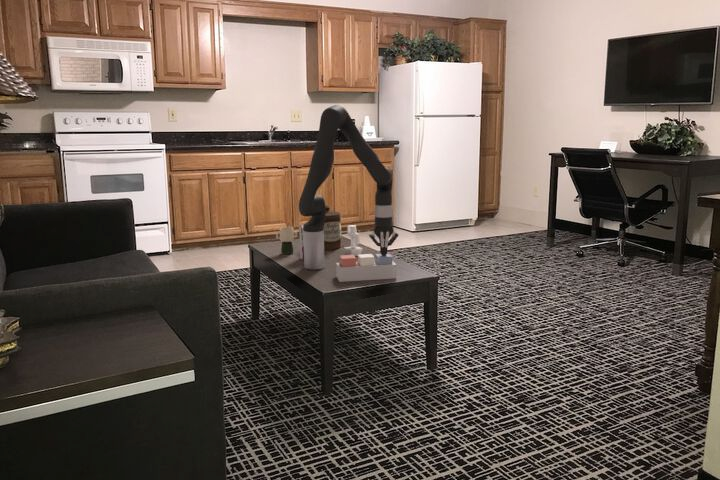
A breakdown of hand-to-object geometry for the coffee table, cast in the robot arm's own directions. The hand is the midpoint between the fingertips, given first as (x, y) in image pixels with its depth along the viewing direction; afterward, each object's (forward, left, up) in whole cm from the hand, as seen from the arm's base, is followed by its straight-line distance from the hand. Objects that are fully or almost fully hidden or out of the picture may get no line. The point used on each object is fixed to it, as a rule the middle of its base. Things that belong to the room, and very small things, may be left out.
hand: (383, 255), depth 250 cm
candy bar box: (-40, -26, -10) cm, 49 cm away
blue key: (0, 0, -5) cm, 5 cm away
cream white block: (0, -8, -5) cm, 9 cm away
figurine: (-42, -5, -10) cm, 44 cm away
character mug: (-53, -37, -10) cm, 66 cm away
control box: (0, -8, -9) cm, 12 cm away
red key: (0, -16, -5) cm, 16 cm away
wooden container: (-64, -15, -10) cm, 67 cm away
